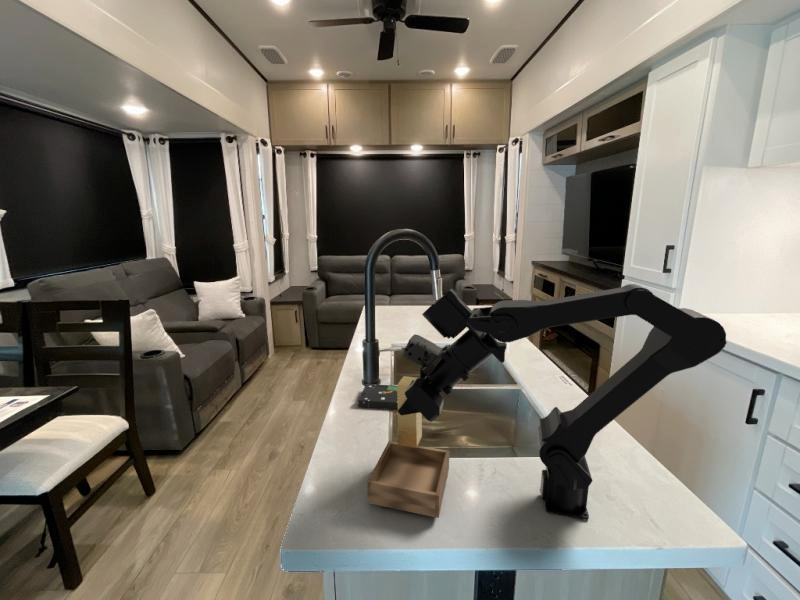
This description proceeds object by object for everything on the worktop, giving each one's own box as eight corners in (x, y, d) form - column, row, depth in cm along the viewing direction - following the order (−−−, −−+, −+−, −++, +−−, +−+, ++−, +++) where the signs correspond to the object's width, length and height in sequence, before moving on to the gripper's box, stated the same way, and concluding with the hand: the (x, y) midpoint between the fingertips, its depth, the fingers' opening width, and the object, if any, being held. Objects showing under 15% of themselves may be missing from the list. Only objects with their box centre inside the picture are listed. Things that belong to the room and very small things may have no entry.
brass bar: (421, 436, 69) (421, 378, 67) (416, 447, 65) (415, 386, 63) (404, 433, 70) (403, 376, 68) (398, 444, 66) (397, 384, 64)
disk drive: (357, 410, 94) (414, 412, 92) (357, 400, 93) (414, 402, 92) (365, 392, 104) (416, 394, 102) (365, 383, 103) (416, 385, 102)
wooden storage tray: (448, 474, 68) (449, 450, 67) (438, 523, 57) (439, 495, 56) (388, 463, 71) (388, 441, 70) (367, 508, 60) (367, 481, 59)
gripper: (440, 311, 71) (389, 359, 76) (417, 338, 53) (353, 397, 59) (480, 352, 70) (425, 397, 75) (469, 393, 53) (399, 448, 58)
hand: (403, 407), depth 67 cm, fingers closed on brass bar, 4 cm apart
